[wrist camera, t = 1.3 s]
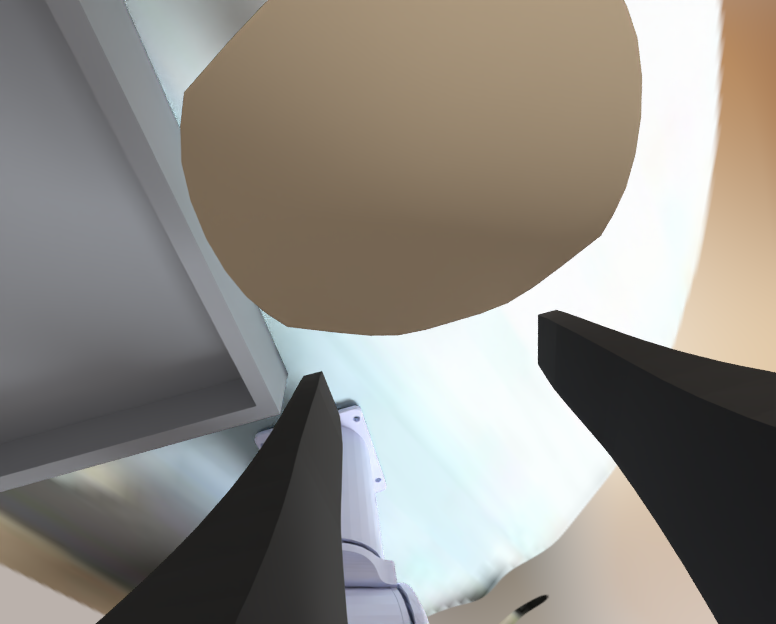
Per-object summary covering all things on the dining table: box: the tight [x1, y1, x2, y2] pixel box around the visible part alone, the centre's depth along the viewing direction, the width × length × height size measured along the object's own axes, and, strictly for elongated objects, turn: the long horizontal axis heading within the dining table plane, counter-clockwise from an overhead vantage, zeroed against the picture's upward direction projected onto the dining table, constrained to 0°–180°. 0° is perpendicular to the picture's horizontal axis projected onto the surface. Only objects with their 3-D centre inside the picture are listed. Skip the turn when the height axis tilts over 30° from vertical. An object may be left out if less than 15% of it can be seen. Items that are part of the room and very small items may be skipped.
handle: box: [180, 0, 642, 336], centre depth 11 cm, size 5×6×15 cm
